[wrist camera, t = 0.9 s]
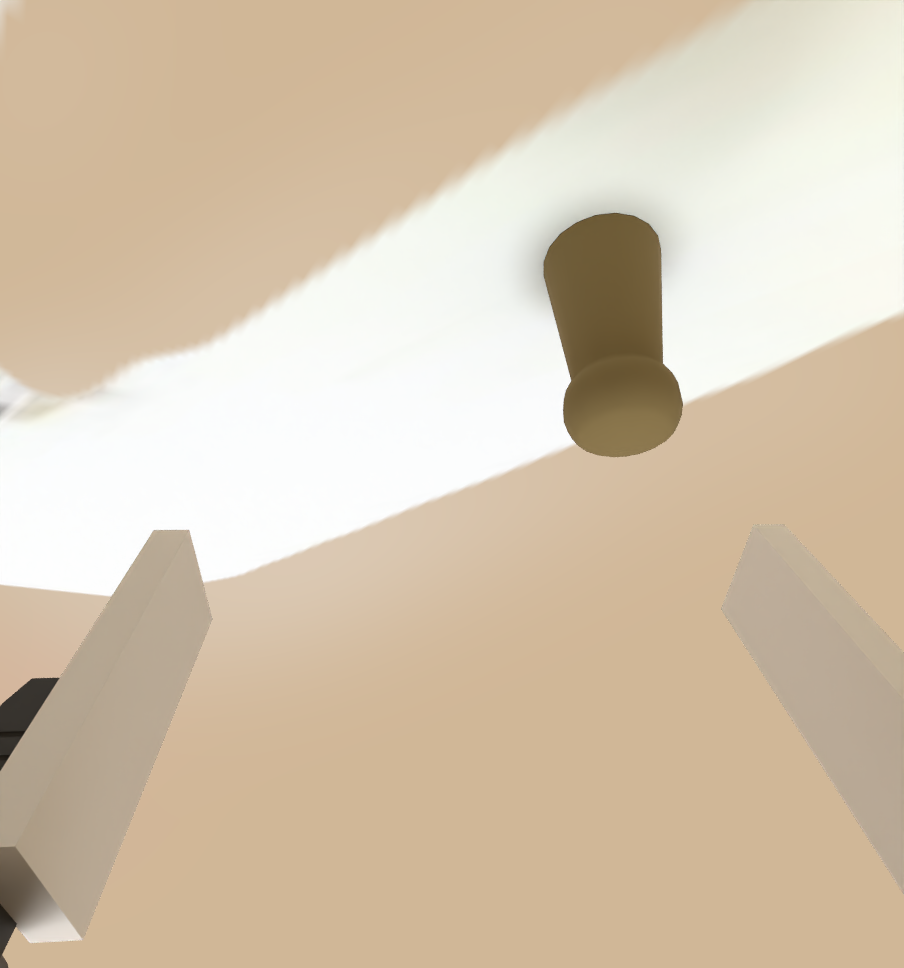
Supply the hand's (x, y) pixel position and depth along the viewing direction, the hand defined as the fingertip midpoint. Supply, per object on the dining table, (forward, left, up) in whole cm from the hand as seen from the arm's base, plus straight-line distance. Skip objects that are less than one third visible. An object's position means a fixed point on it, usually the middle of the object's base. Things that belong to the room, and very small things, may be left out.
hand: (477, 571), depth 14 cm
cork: (+9, +6, -20) cm, 23 cm away
